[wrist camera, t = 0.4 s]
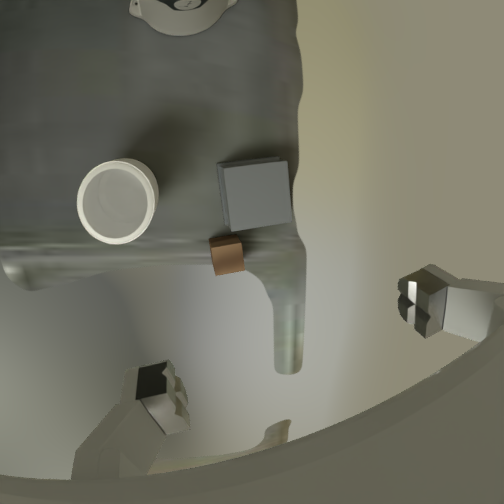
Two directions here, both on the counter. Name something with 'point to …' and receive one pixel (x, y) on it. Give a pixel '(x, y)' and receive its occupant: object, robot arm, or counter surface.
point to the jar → (117, 200)
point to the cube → (226, 254)
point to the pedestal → (254, 192)
